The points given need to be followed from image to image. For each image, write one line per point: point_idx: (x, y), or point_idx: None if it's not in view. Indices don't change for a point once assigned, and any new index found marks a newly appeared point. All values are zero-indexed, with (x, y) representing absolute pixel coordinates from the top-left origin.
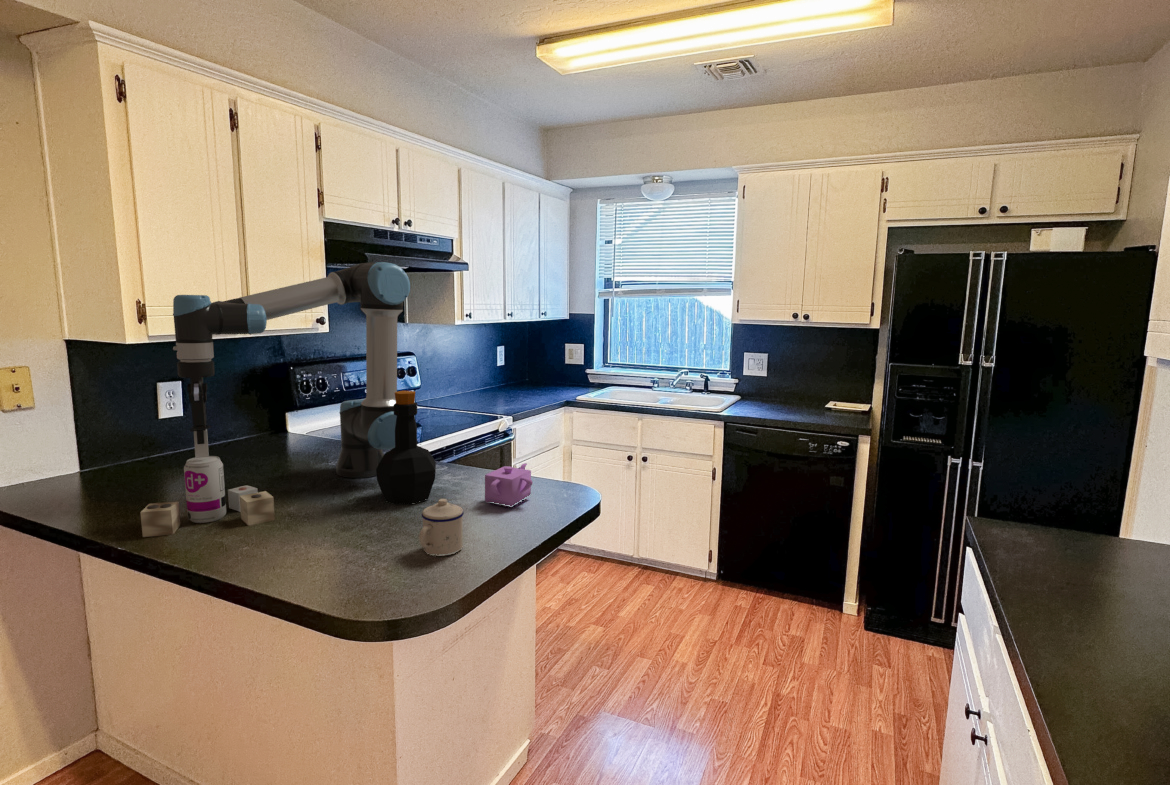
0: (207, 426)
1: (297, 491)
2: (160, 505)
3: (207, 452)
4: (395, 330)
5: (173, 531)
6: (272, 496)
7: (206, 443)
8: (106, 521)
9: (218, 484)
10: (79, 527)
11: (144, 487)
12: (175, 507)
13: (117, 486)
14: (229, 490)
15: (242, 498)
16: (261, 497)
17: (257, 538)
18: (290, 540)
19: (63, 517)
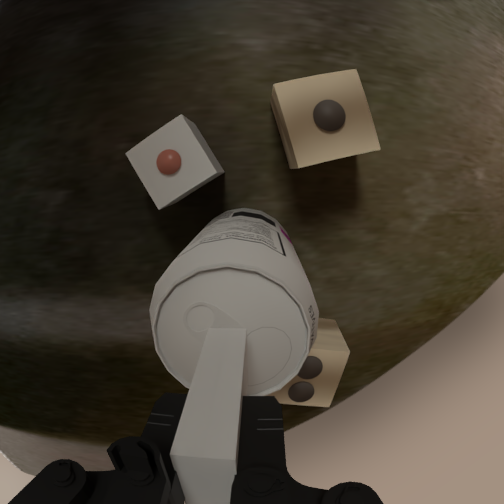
0: (163, 470)
1: (107, 39)
2: (293, 378)
3: (244, 343)
4: None
5: (331, 321)
6: (347, 70)
7: (241, 382)
8: None
9: (285, 243)
10: None
11: (10, 367)
12: None
13: (9, 397)
14: (167, 204)
15: (332, 159)
16: (346, 102)
17: (445, 144)
18: (473, 89)
19: None
